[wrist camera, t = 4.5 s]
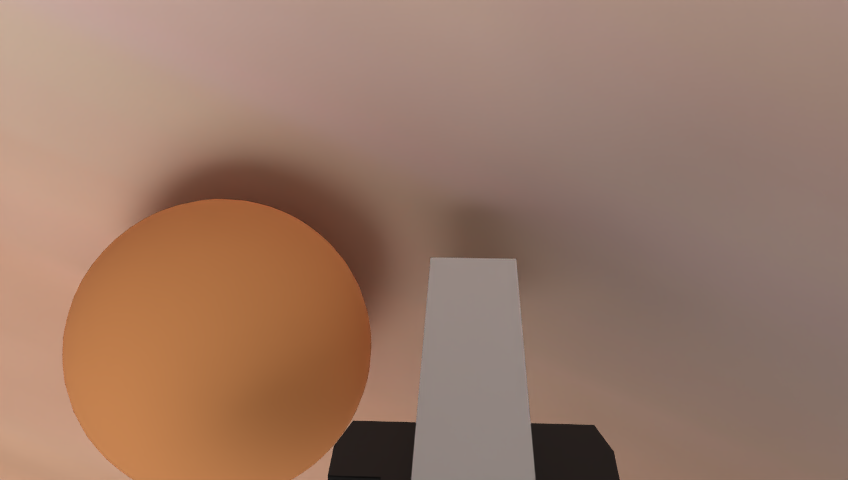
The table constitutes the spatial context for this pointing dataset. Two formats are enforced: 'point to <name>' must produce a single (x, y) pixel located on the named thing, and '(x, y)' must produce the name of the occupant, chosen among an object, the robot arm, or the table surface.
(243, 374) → the ball
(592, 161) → the table surface
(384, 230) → the table surface
